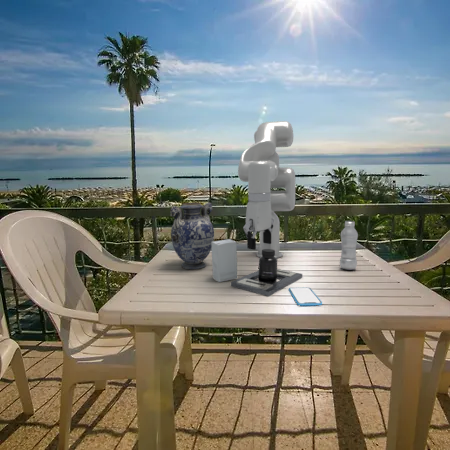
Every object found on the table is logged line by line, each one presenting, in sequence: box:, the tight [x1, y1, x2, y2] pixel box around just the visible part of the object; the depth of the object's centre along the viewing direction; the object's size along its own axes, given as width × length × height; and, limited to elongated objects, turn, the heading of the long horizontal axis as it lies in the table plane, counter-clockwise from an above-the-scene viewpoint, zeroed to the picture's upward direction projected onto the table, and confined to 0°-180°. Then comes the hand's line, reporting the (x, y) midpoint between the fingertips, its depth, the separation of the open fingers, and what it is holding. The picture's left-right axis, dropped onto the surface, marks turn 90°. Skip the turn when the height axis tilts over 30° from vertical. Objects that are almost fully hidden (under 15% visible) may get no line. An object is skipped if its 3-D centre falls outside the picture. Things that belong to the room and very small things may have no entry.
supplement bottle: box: [257, 249, 278, 284], centre depth 118 cm, size 7×7×12 cm
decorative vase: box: [169, 201, 215, 271], centre depth 139 cm, size 21×18×28 cm
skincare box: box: [211, 238, 238, 283], centre depth 122 cm, size 8×6×15 cm
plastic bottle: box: [339, 220, 359, 271], centre depth 131 cm, size 6×7×20 cm
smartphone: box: [288, 286, 323, 307], centre depth 104 cm, size 8×1×15 cm
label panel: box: [230, 268, 303, 297], centre depth 119 cm, size 16×24×2 cm, turn 140°
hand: (259, 246), depth 113 cm, fingers open, 9 cm apart
